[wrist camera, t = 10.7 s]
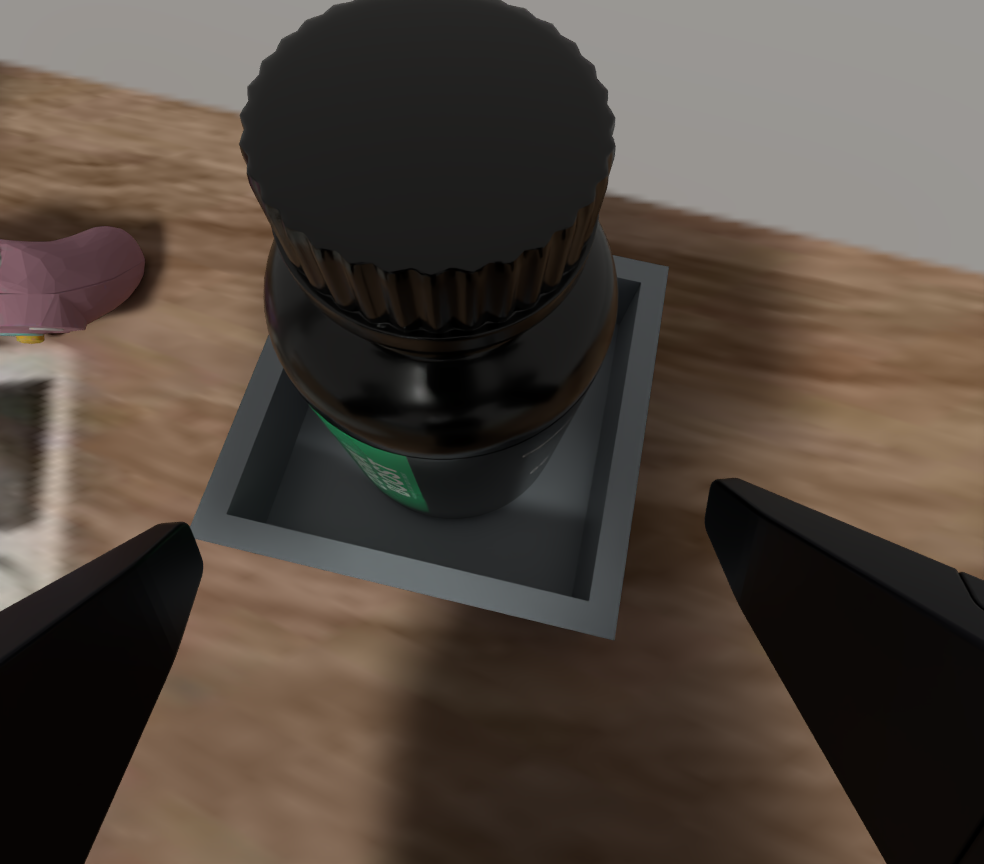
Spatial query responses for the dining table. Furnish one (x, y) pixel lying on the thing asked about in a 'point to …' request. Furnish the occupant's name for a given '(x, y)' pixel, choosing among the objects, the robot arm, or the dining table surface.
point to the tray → (453, 542)
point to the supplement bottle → (436, 239)
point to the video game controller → (65, 281)
